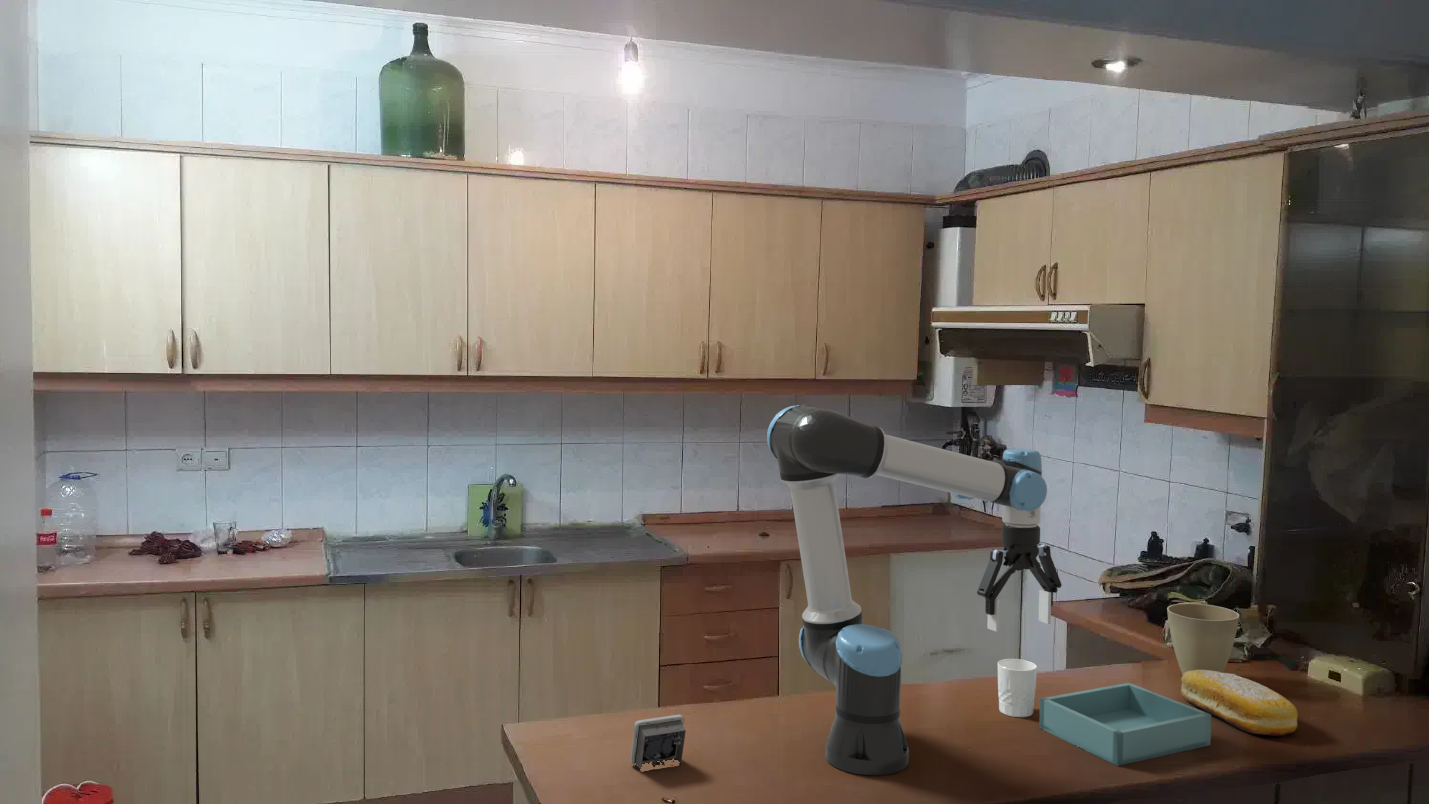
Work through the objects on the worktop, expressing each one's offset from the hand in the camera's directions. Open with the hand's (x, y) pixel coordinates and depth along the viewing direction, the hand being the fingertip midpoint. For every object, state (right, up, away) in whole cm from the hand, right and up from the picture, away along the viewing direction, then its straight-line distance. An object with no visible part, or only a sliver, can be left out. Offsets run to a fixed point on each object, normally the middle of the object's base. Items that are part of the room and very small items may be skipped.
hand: (1019, 626), depth 212 cm
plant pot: (+48, -17, +22) cm, 56 cm away
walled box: (+17, -19, -12) cm, 28 cm away
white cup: (0, -18, +1) cm, 18 cm away
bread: (+45, -19, 0) cm, 48 cm away
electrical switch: (-73, -19, -28) cm, 80 cm away
